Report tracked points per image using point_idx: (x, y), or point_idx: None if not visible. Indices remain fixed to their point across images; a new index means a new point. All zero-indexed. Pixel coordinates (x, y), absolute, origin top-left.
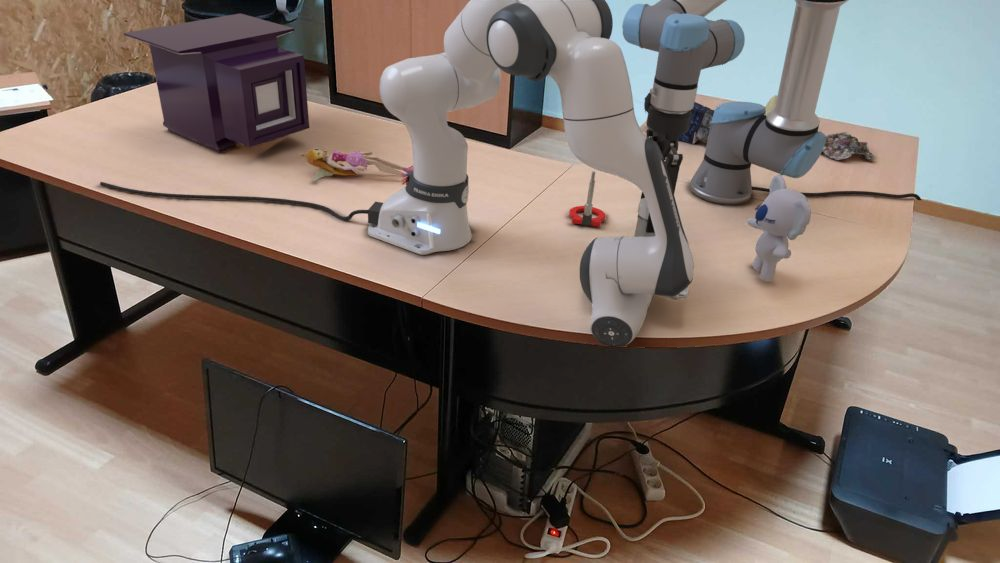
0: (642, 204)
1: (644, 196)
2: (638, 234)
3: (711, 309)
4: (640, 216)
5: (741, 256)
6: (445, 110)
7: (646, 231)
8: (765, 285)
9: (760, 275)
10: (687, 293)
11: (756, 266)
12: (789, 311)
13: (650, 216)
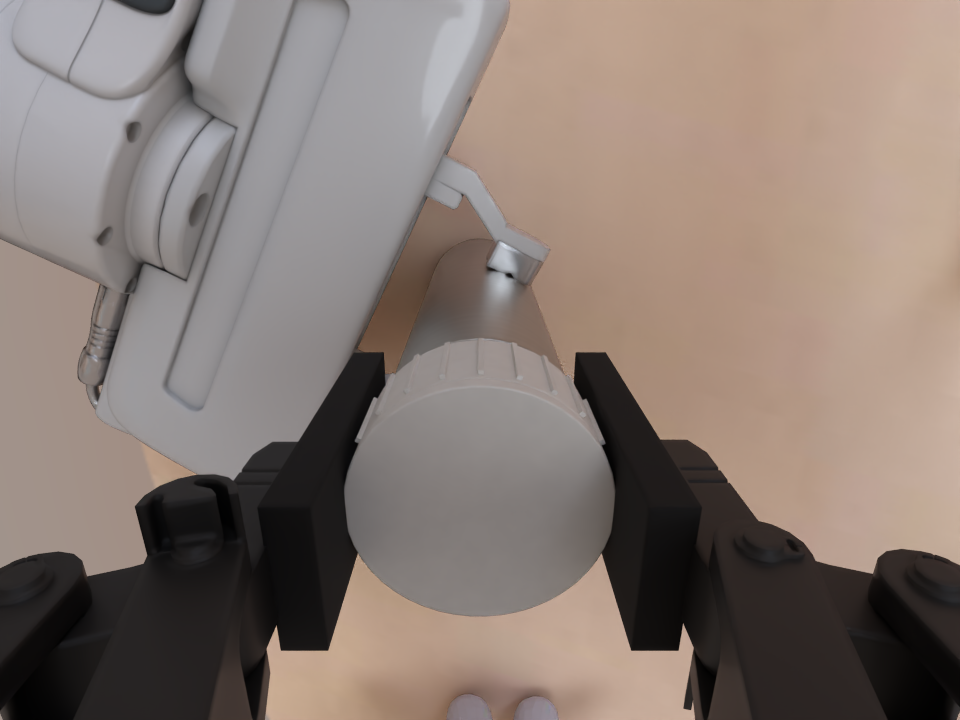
0: (434, 396)
1: (618, 470)
2: (445, 308)
3: None
4: None
5: (631, 688)
6: None
7: (364, 354)
8: (447, 690)
9: (476, 701)
10: (109, 424)
11: (522, 711)
12: (302, 697)
13: (316, 418)
